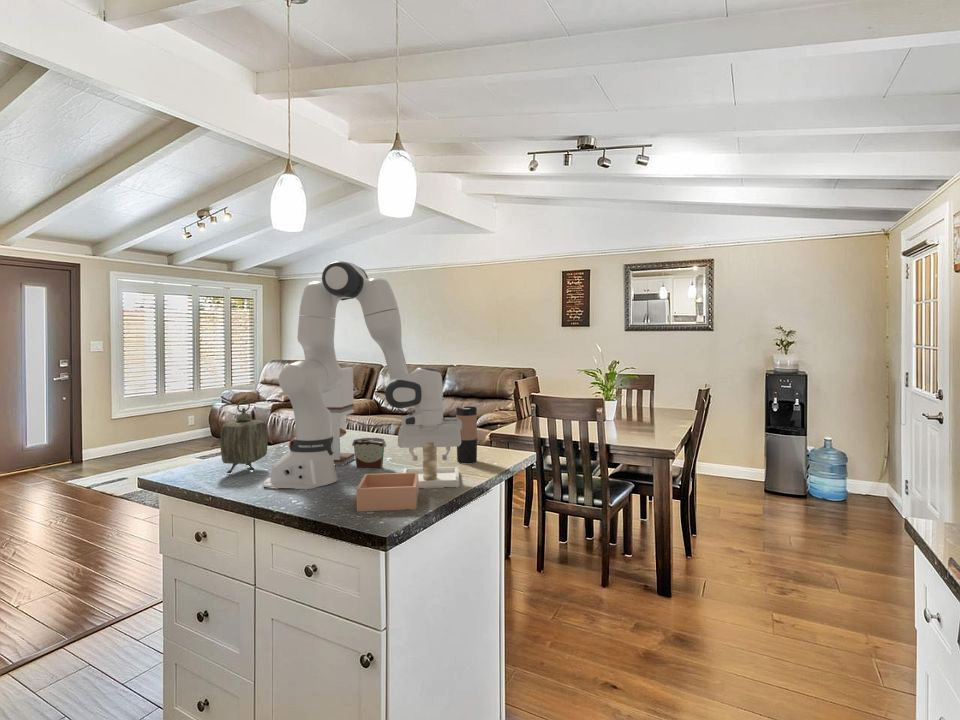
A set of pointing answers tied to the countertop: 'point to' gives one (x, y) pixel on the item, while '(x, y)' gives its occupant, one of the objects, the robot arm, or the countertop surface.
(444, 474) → the tray
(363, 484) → the peach storage bin
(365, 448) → the food container
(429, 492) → the countertop surface
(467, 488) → the countertop surface
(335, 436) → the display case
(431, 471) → the dowel pin
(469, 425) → the travel mug
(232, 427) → the tabletop clock
